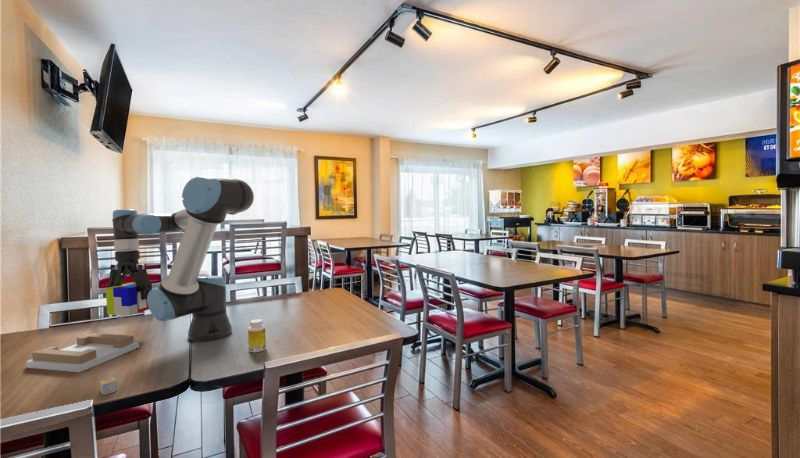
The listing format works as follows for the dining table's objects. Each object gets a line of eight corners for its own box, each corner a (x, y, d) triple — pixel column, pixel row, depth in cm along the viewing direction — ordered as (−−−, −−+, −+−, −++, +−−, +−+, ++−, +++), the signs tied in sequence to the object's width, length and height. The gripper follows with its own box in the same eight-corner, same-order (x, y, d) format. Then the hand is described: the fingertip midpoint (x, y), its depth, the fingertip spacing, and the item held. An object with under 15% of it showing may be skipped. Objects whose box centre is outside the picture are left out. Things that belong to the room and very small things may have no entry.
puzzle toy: (129, 315, 133) (127, 288, 132) (107, 314, 135) (105, 288, 134) (153, 308, 142) (151, 283, 142) (132, 307, 144) (130, 282, 144)
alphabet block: (102, 395, 95) (102, 384, 94) (100, 392, 97) (99, 380, 96) (117, 391, 97) (116, 380, 97) (114, 387, 99) (114, 376, 99)
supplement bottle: (266, 351, 124) (265, 321, 123) (249, 354, 121) (248, 324, 121) (264, 345, 129) (264, 317, 128) (248, 348, 126) (247, 319, 126)
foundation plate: (138, 347, 128) (138, 335, 128) (79, 372, 108) (78, 357, 108) (92, 344, 132) (91, 331, 131) (26, 367, 112) (25, 353, 112)
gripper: (160, 248, 139) (164, 305, 140) (112, 249, 143) (115, 304, 144) (143, 250, 132) (147, 311, 133) (92, 251, 136) (96, 309, 137)
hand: (130, 307), depth 138 cm, fingers closed on puzzle toy, 10 cm apart
